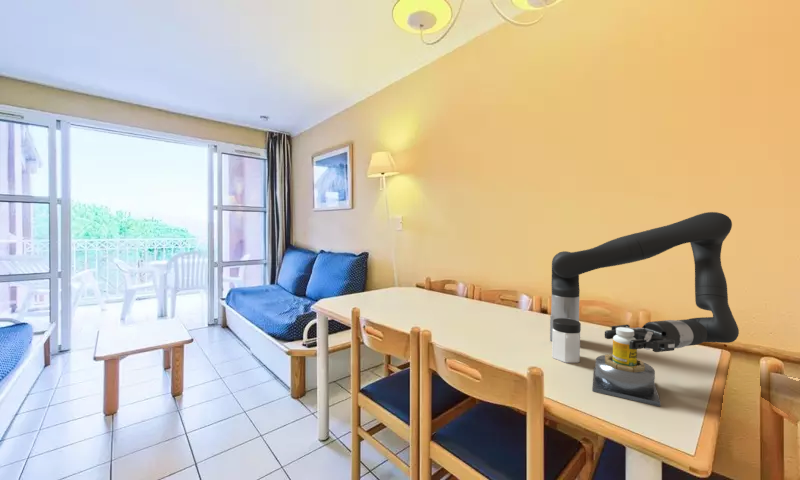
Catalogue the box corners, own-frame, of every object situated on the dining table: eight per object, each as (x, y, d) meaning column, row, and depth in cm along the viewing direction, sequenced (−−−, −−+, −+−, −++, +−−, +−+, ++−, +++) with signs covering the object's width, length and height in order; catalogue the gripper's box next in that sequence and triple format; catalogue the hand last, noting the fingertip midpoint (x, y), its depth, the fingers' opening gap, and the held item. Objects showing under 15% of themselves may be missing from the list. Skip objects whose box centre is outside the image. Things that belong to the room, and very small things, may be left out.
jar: (573, 352, 111) (573, 317, 110) (586, 363, 102) (587, 325, 102) (546, 352, 111) (547, 318, 110) (558, 363, 103) (558, 325, 102)
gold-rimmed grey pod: (592, 391, 85) (592, 364, 85) (593, 370, 97) (594, 346, 97) (660, 406, 78) (661, 377, 78) (652, 382, 90) (653, 356, 89)
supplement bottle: (617, 358, 91) (618, 324, 91) (640, 365, 87) (641, 330, 86) (608, 363, 88) (609, 328, 88) (631, 370, 84) (632, 334, 83)
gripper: (642, 314, 97) (596, 318, 93) (696, 329, 83) (644, 334, 79) (642, 338, 97) (595, 344, 94) (695, 358, 83) (643, 365, 80)
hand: (618, 339), depth 86 cm, fingers open, 7 cm apart
